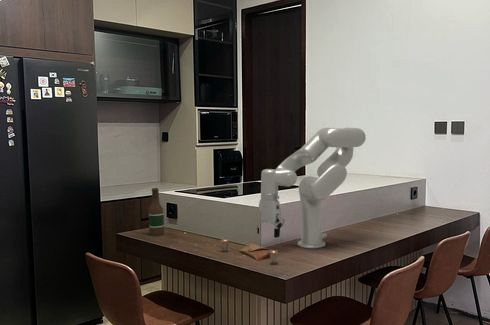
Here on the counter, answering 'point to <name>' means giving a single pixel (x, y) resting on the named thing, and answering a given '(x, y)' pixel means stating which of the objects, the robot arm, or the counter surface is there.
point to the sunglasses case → (255, 251)
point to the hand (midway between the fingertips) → (268, 235)
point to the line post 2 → (273, 257)
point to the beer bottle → (156, 215)
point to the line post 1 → (225, 245)
